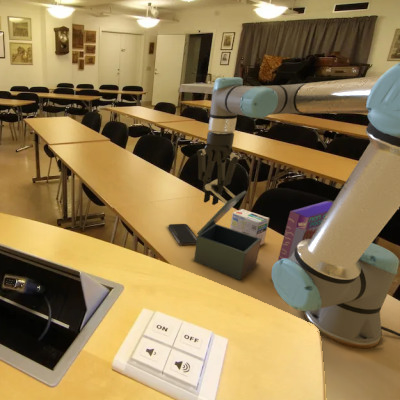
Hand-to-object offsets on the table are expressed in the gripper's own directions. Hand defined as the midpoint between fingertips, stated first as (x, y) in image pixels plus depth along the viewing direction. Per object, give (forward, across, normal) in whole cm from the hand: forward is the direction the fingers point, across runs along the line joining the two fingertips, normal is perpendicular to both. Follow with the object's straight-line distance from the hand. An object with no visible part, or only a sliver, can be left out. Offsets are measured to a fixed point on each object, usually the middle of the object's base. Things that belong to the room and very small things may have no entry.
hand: (210, 202), depth 106 cm
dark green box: (+20, -8, 0) cm, 21 cm away
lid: (+3, -4, 0) cm, 5 cm away
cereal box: (+20, -28, -8) cm, 35 cm away
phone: (+20, +12, -7) cm, 25 cm away
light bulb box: (+20, -7, -20) cm, 29 cm away
